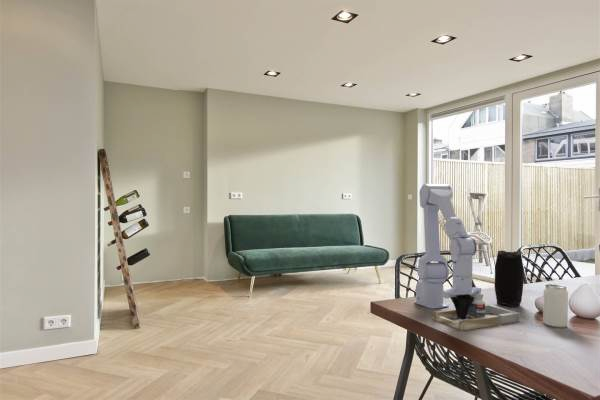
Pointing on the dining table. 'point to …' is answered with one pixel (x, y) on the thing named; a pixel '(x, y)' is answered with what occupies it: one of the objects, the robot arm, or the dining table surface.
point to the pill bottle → (476, 307)
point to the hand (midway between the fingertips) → (461, 318)
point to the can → (555, 306)
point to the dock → (502, 314)
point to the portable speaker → (509, 278)
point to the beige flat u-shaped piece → (463, 325)
